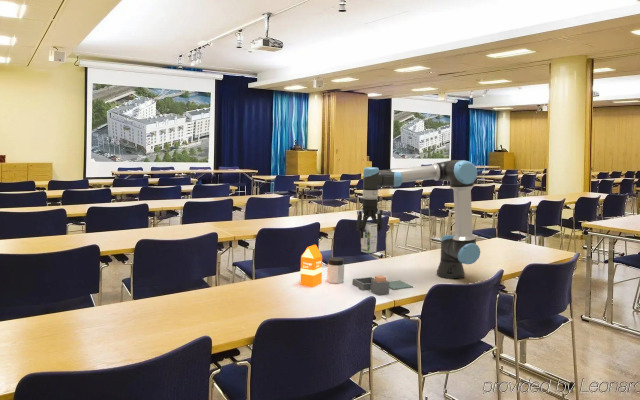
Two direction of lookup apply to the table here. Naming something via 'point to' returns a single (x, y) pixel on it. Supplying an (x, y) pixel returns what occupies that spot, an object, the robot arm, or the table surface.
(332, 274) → the jar
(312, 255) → the orange juice
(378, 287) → the frame
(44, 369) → the table surface
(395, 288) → the rubber mat
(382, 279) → the peach square block
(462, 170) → the robot arm
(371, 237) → the syrup box
